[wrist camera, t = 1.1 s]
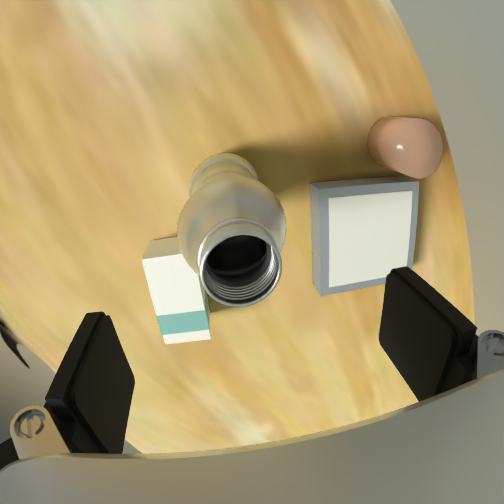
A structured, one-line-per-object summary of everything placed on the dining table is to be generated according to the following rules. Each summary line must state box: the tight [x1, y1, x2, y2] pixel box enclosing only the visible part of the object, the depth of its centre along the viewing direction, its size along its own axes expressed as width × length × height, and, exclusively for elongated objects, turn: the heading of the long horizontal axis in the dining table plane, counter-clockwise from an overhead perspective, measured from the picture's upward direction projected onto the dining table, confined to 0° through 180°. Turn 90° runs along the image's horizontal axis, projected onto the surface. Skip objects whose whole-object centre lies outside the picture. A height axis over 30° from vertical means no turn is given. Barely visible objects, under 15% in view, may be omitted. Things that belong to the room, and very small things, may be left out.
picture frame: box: [310, 176, 419, 296], centre depth 35 cm, size 12×12×3 cm
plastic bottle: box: [177, 153, 286, 307], centre depth 23 cm, size 6×7×20 cm
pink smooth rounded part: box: [368, 117, 443, 179], centre depth 30 cm, size 6×6×6 cm
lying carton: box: [142, 237, 211, 344], centre depth 34 cm, size 10×5×5 cm, turn 6°
